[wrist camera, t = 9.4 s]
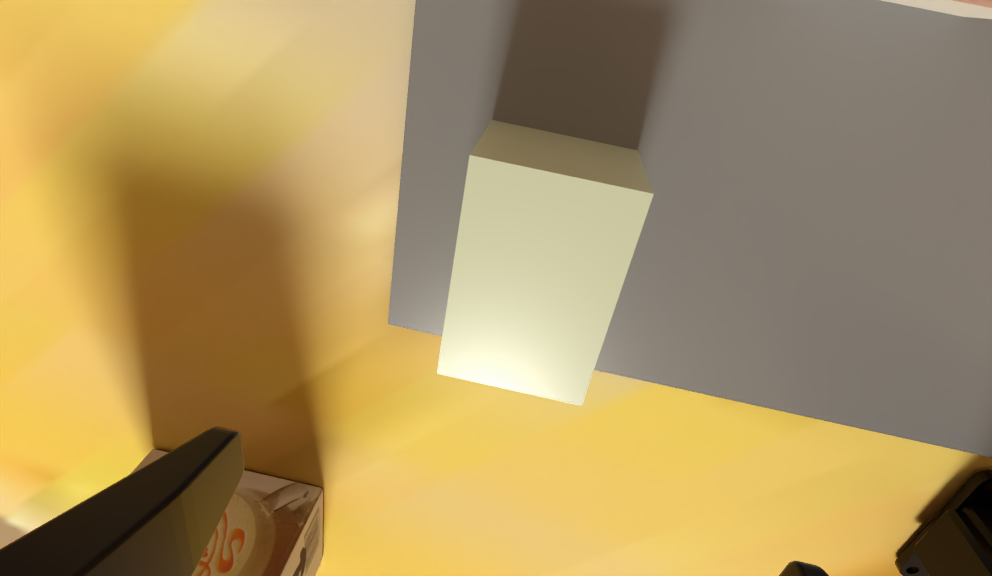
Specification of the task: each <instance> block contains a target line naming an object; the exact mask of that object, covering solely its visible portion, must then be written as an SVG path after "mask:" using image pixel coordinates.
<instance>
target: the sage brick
mask: <svg viewBox="0 0 992 576" xmlns="http://www.w3.org/2000/svg"><path fill="white" fill-rule="evenodd" d="M653 195H654V193H653V190H652V188H651V185H650V182H649V180H648V177H647V174H646V172H645V169H644V166H643V163H642V161H641V158H640V155H639V153H638V150H633V149H629V148H624V147H619V146H614V145H609V144H605V143H600V142H595V141H590V140H586V139H581V138H576V137H571V136H566V135H562V134H557V133H552V132H547V131H543V130H538V129H533V128H528V127H523V126H519V125H514V124H509V123H504V122H500V121H495V120H491V122H490V123H489V125H488V127H487V128H486V130H485V131H484V133H483V135H482V136H481V138H480V139H479V141H478V142H477V144H476V146H475V147H474V149H473V150H472V152H471V154H470V156H469V162H468V169H467V175H466V182H465V189H464V195H463V202H462V209H461V215H460V222H459V229H458V235H457V242H456V249H455V255H454V262H453V269H452V275H451V282H450V288H449V295H448V302H447V308H446V315H445V322H444V328H443V335H442V342H441V348H440V355H439V362H438V368H437V374H441V375H445V376H450V377H454V378H459V379H463V380H468V381H472V382H477V383H481V384H486V385H490V386H495V387H499V388H504V389H508V390H513V391H517V392H522V393H526V394H531V395H535V396H540V397H544V398H549V399H553V400H558V401H562V402H567V403H571V404H576V405H580V406H582V403H583V400H584V398H585V395H586V392H587V389H588V386H589V383H590V380H591V377H592V374H593V371H594V368H595V365H596V362H597V359H598V356H599V353H600V351H601V348H602V345H603V342H604V339H605V336H606V333H607V330H608V327H609V324H610V321H611V318H612V315H613V312H614V309H615V306H616V304H617V301H618V298H619V295H620V292H621V289H622V286H623V283H624V280H625V277H626V274H627V271H628V268H629V265H630V262H631V259H632V257H633V254H634V251H635V248H636V245H637V242H638V239H639V236H640V233H641V230H642V227H643V224H644V221H645V218H646V215H647V213H648V210H649V207H650V204H651V201H652V198H653Z"/></svg>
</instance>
